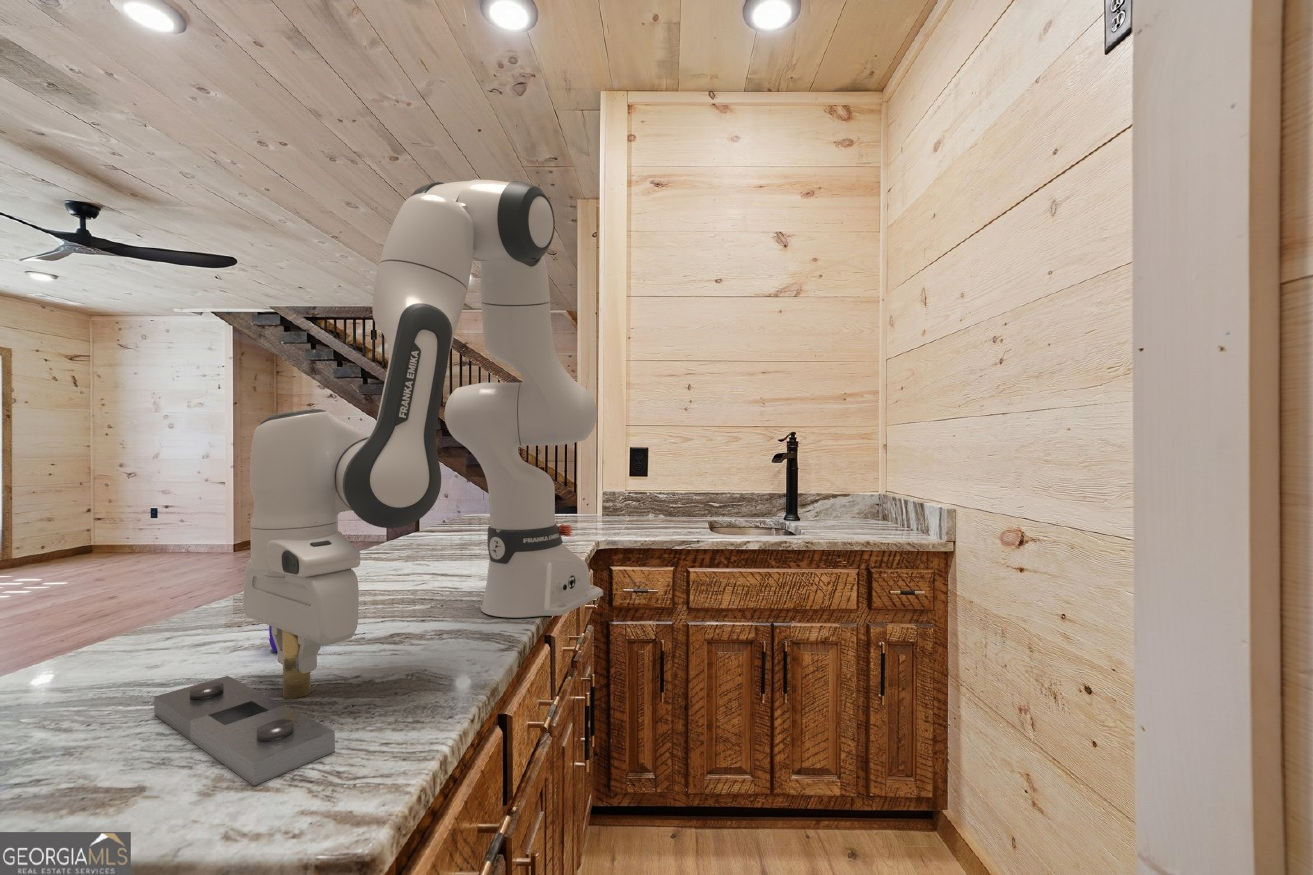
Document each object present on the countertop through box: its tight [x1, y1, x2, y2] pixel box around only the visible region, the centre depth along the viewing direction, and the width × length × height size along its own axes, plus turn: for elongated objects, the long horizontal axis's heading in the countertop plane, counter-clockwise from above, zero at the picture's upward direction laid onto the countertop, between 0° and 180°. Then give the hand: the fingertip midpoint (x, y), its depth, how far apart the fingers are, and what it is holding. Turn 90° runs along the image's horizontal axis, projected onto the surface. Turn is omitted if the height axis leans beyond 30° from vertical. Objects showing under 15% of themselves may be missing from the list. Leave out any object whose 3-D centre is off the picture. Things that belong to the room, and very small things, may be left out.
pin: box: [282, 630, 312, 700], centre depth 73 cm, size 3×3×9 cm
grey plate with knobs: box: [153, 675, 336, 787], centre depth 63 cm, size 24×7×3 cm, turn 55°
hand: (297, 666), depth 73 cm, fingers closed on pin, 3 cm apart
